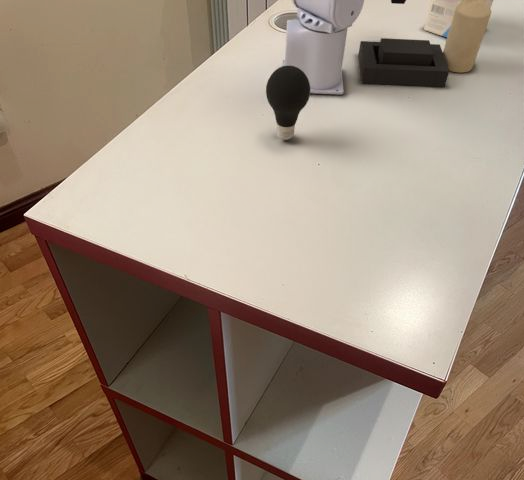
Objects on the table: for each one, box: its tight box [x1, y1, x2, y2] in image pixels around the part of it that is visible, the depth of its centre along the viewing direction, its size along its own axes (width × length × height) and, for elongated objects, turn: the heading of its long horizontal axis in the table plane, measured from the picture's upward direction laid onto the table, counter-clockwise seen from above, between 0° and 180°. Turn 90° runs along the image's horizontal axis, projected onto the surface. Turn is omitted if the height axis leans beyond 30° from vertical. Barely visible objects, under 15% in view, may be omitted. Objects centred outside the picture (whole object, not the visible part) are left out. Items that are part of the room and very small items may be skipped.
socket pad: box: [357, 40, 450, 88], centre depth 85 cm, size 14×10×2 cm
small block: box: [376, 37, 434, 66], centre depth 85 cm, size 8×5×4 cm, turn 87°
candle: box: [442, 0, 492, 74], centre depth 84 cm, size 6×6×10 cm
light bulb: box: [265, 66, 311, 142], centre depth 70 cm, size 6×6×10 cm
